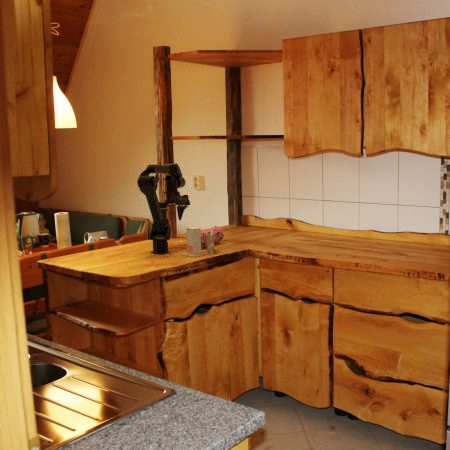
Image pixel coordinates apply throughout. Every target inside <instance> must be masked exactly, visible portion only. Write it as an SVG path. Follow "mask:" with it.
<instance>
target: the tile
mask: <svg viewBox="0 0 450 450" xmlns="http://www.w3.org/2000/svg"><path fill="white" fill-rule="evenodd" d="M208 255H209V254H208V253H207V252H203V251H201V254H196V255H193V254H190V253H187V252H182V253H180V256H182V257H183V256H185V257H189V258H198V257H203V256H208Z"/></svg>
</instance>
